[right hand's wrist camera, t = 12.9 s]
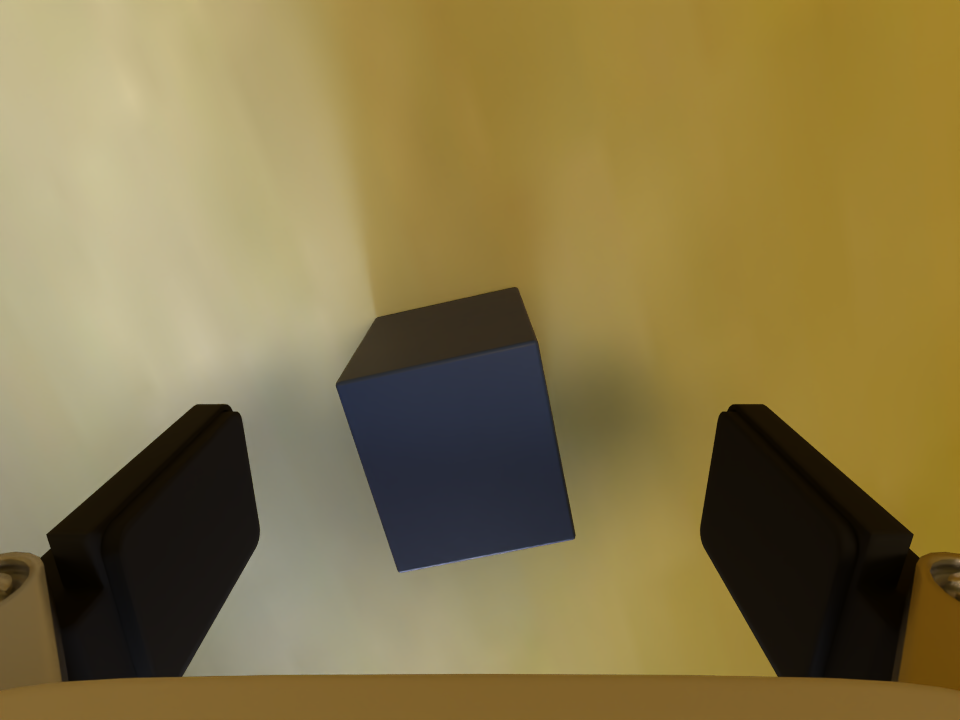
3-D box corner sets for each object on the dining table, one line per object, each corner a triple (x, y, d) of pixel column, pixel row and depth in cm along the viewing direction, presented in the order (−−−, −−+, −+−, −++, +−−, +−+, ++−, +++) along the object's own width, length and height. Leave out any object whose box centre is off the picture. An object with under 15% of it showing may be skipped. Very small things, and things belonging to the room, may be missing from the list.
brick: (375, 317, 15) (333, 383, 11) (517, 286, 15) (537, 339, 10) (417, 462, 17) (397, 574, 12) (547, 436, 17) (576, 540, 12)
